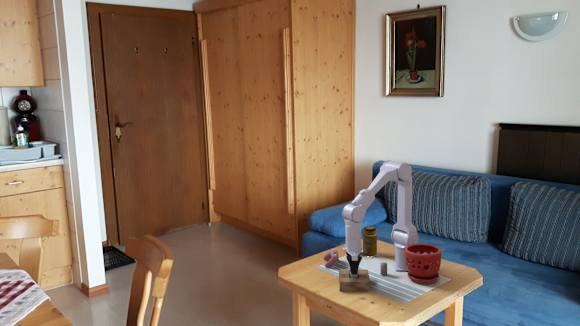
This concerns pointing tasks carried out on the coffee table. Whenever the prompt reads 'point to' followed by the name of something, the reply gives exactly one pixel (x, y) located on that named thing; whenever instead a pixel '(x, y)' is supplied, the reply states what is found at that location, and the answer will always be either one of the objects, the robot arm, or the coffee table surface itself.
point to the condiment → (369, 242)
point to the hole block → (354, 281)
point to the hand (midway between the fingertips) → (353, 272)
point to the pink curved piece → (331, 258)
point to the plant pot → (423, 263)
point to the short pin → (383, 269)
